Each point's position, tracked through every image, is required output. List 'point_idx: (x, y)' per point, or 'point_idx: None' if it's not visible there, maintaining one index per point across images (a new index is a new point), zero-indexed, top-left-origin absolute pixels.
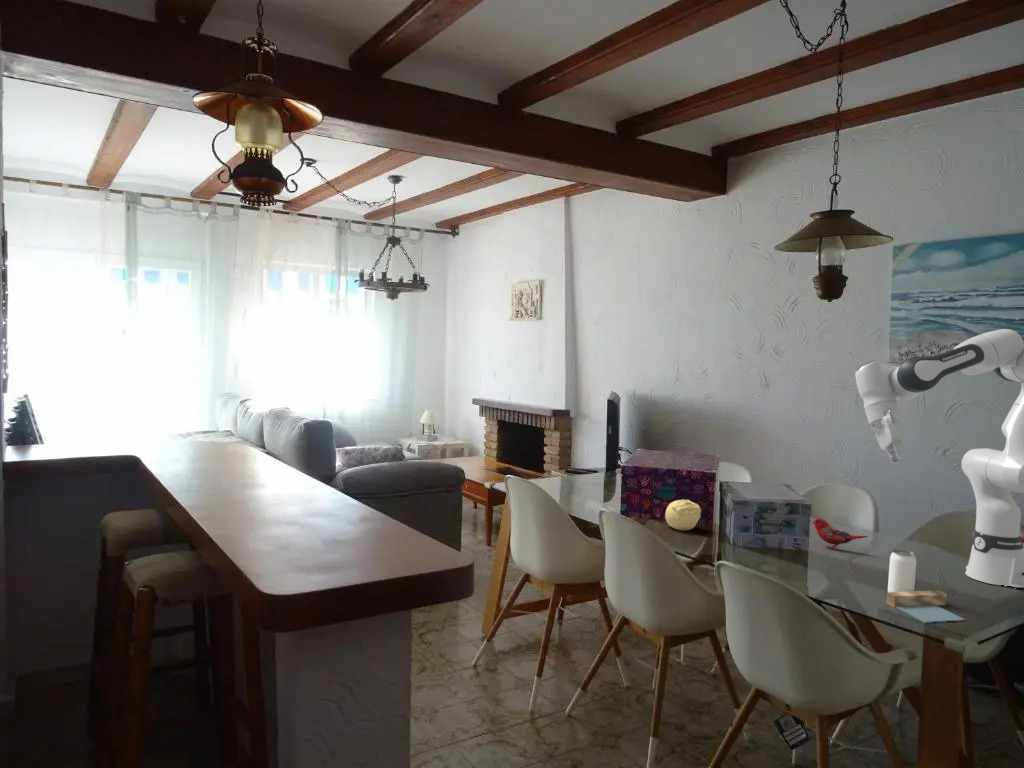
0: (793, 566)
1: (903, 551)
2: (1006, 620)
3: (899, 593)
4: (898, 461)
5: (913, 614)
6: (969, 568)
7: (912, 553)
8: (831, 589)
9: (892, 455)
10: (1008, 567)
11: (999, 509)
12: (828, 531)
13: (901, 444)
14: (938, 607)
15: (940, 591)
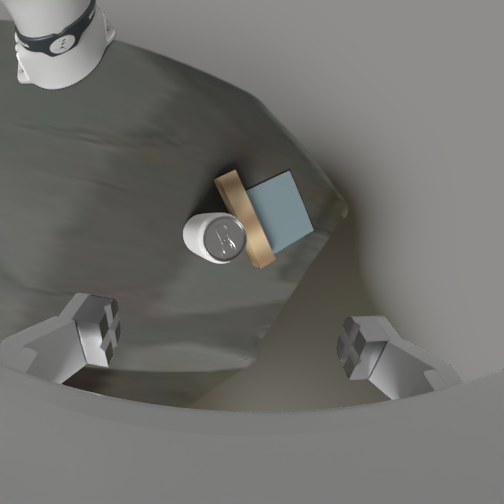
0: (122, 388)
1: (204, 234)
2: (266, 111)
3: (259, 249)
4: (115, 301)
5: (294, 238)
6: (55, 80)
7: (218, 218)
8: (219, 339)
9: (70, 357)
10: (102, 28)
11: None
12: None
13: (448, 370)
14: (253, 191)
15: (225, 175)
